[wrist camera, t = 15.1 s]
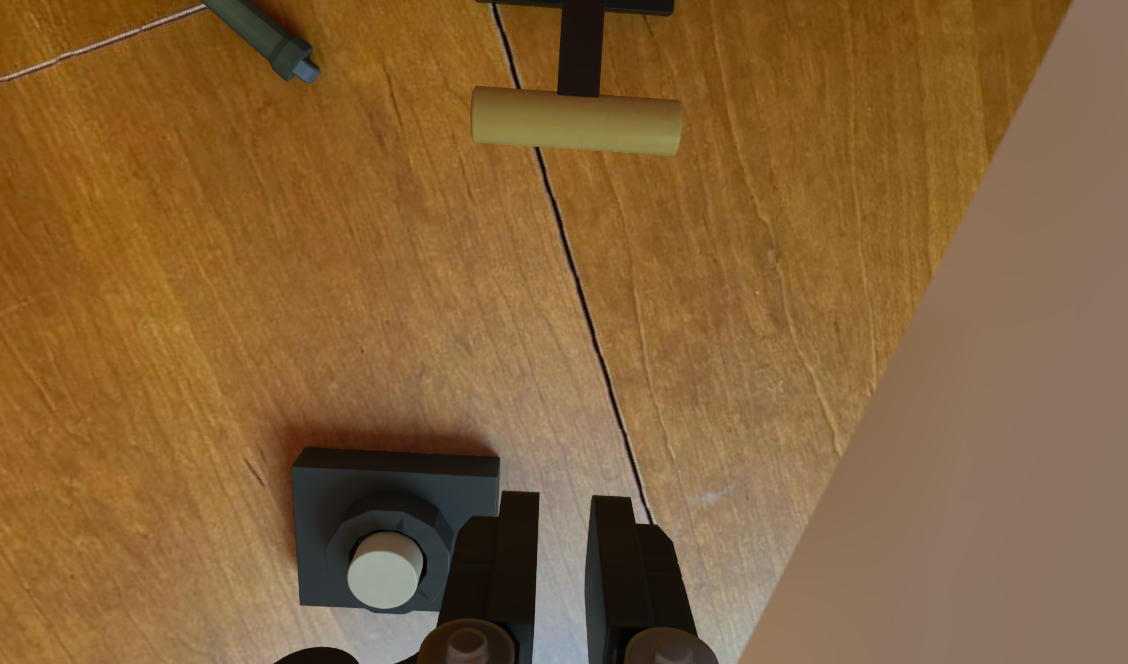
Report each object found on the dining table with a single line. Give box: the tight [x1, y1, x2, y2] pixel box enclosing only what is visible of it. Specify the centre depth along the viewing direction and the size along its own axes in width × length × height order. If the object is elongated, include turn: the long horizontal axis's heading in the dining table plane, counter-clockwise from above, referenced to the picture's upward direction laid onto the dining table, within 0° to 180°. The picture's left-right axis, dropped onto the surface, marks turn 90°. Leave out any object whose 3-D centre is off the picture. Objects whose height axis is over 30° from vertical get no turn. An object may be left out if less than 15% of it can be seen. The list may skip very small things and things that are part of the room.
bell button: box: [347, 531, 423, 609], centre depth 37 cm, size 4×4×2 cm
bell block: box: [291, 448, 500, 614], centre depth 39 cm, size 11×9×4 cm
